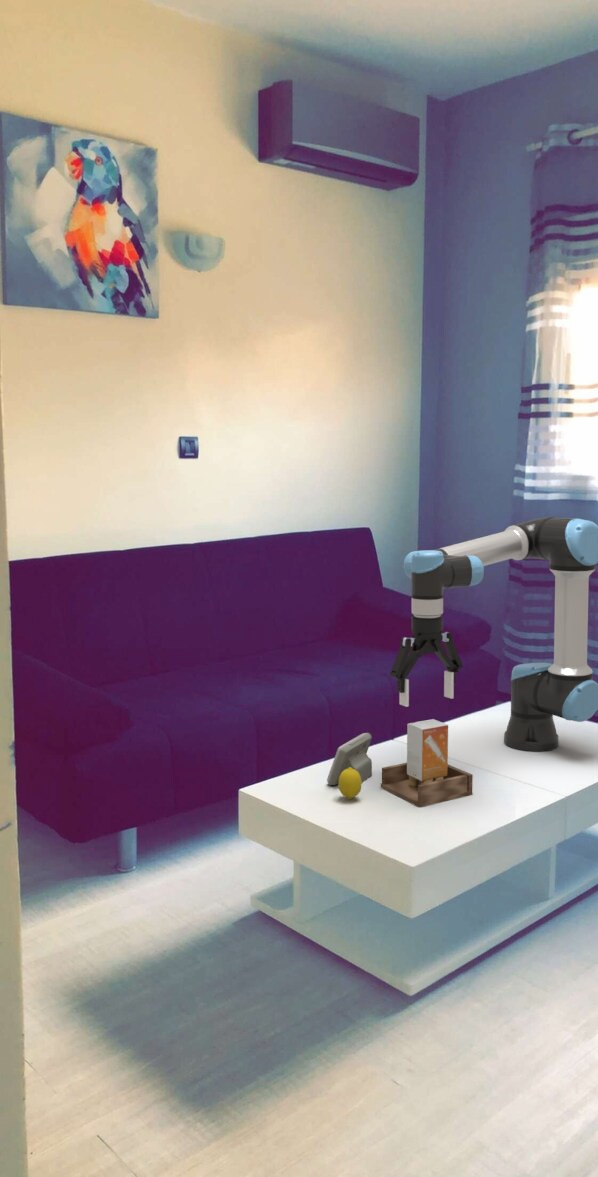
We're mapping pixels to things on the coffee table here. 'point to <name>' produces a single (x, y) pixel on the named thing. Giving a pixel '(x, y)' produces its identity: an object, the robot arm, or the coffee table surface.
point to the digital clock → (352, 759)
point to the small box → (427, 749)
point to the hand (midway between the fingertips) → (426, 701)
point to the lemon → (350, 783)
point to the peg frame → (426, 785)
